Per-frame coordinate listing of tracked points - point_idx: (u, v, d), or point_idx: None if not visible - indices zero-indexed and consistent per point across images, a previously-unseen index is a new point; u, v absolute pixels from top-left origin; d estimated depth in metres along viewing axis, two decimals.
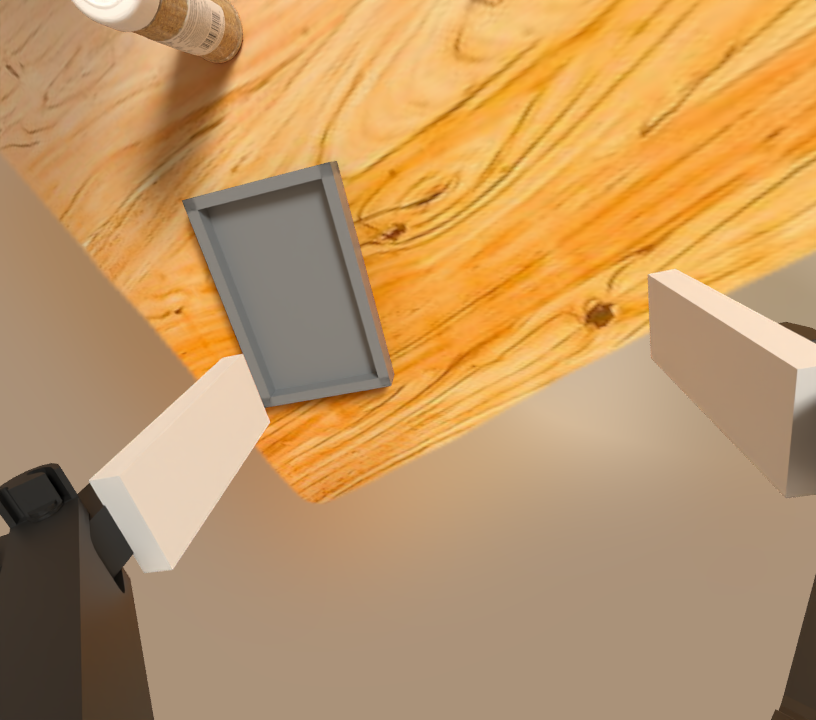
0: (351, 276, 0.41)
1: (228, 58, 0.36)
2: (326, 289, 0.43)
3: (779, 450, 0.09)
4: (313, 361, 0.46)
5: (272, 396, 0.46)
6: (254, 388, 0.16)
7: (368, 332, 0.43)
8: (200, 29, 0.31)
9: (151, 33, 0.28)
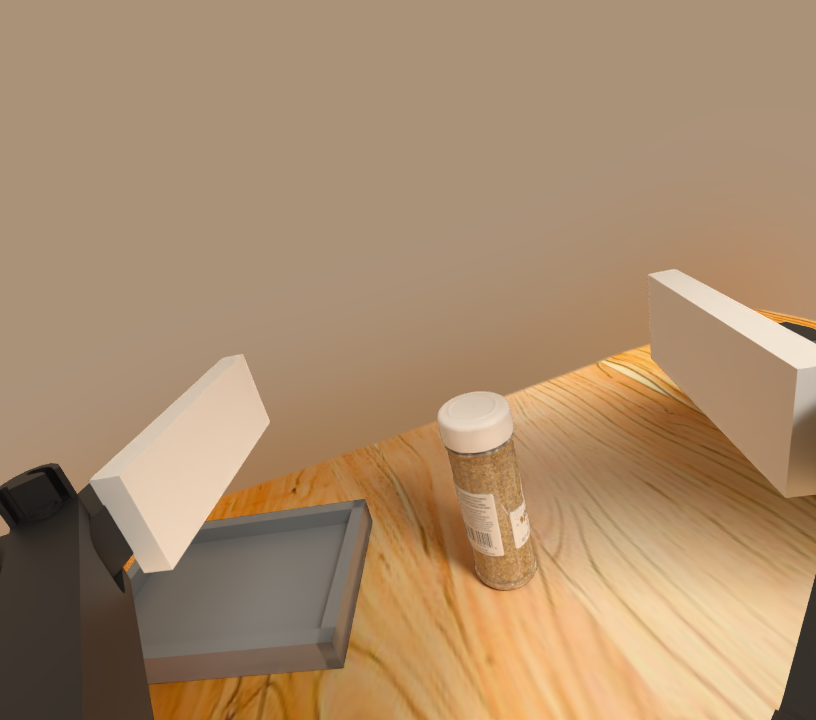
0: (204, 642, 0.31)
1: (475, 568, 0.34)
2: (219, 618, 0.35)
3: (779, 450, 0.09)
4: (164, 588, 0.39)
5: None
6: (254, 388, 0.16)
7: None
8: (468, 514, 0.31)
9: None
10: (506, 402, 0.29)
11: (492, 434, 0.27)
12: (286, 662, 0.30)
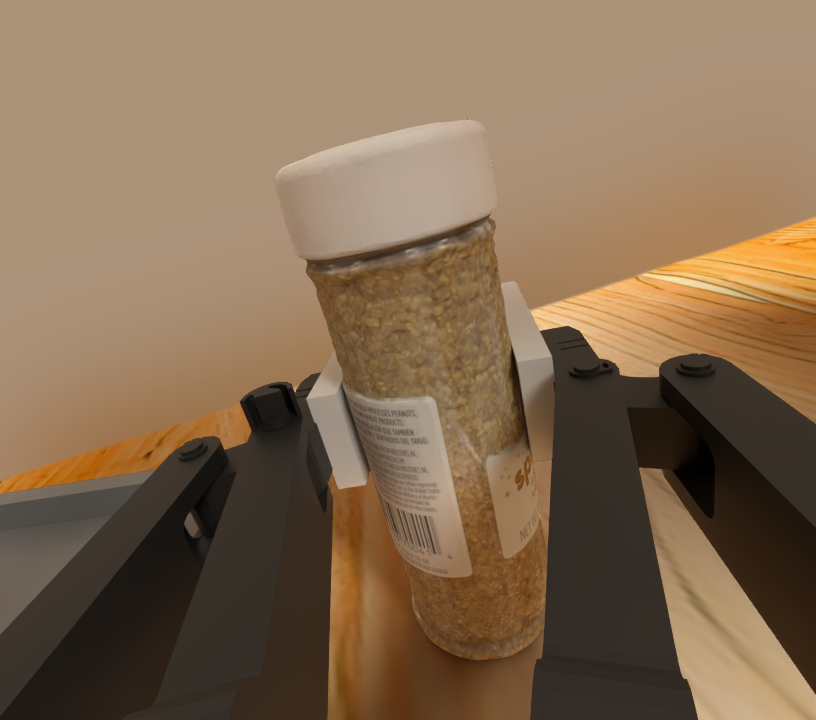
0: None
1: (412, 602, 0.15)
2: None
3: (527, 425, 0.11)
4: None
5: None
6: None
7: None
8: (376, 463, 0.11)
9: None
10: (476, 122, 0.10)
11: (421, 179, 0.08)
12: None
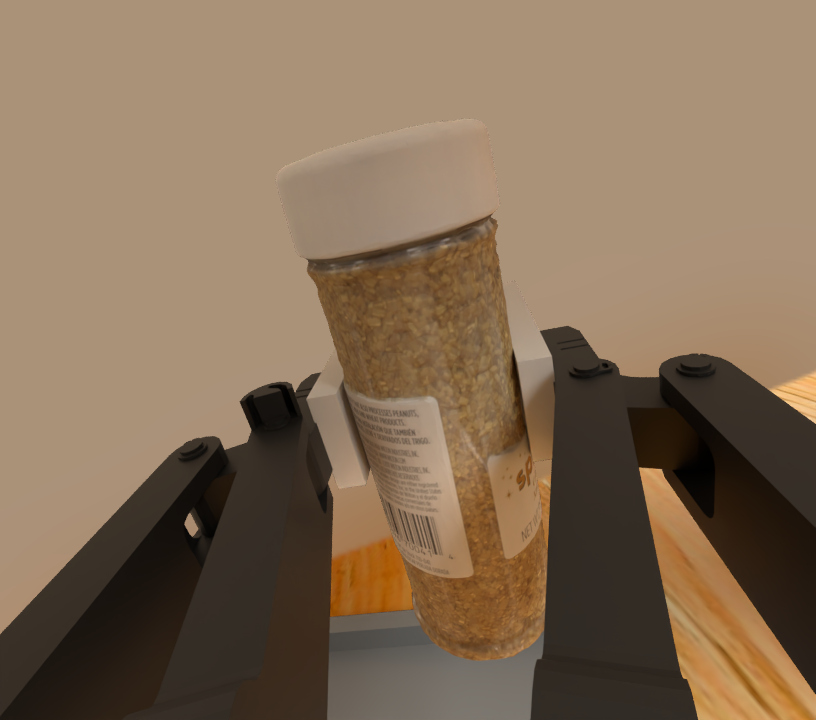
0: None
1: (413, 602, 0.15)
2: None
3: (527, 425, 0.11)
4: None
5: None
6: None
7: None
8: (377, 464, 0.11)
9: None
10: None
11: (424, 179, 0.08)
12: None
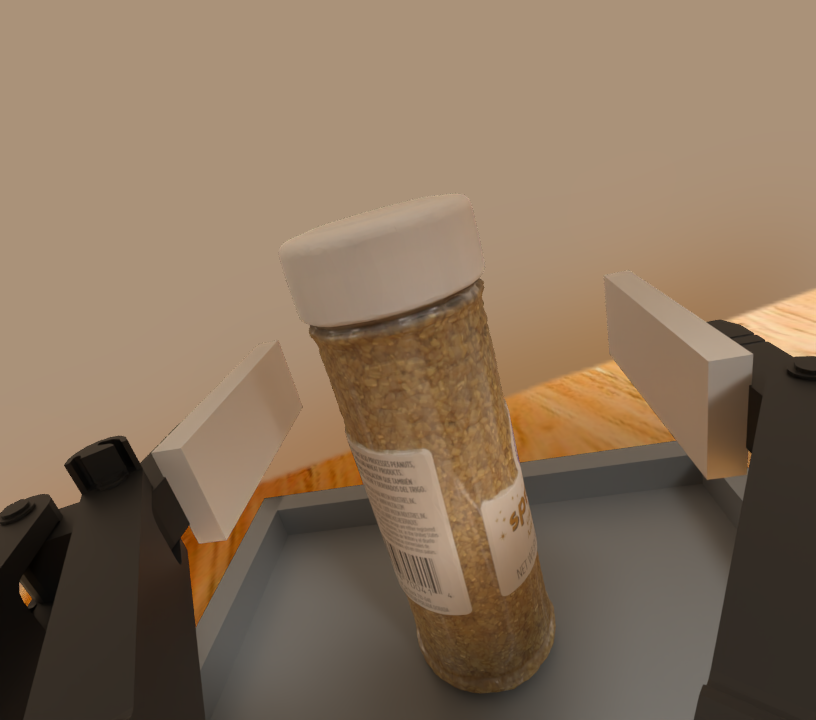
0: None
1: (417, 635, 0.15)
2: (493, 718, 0.13)
3: (700, 436, 0.10)
4: (304, 625, 0.17)
5: (276, 513, 0.21)
6: (288, 373, 0.17)
7: None
8: (378, 508, 0.12)
9: None
10: (462, 195, 0.10)
11: (412, 257, 0.09)
12: None
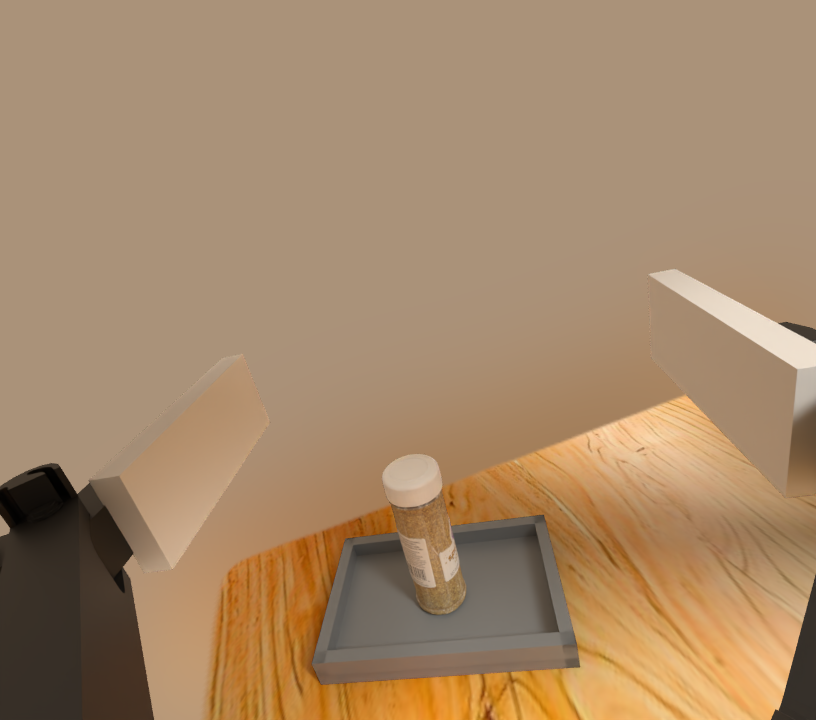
0: (449, 643, 0.36)
1: (416, 596, 0.41)
2: (441, 621, 0.39)
3: (779, 450, 0.09)
4: (371, 594, 0.43)
5: (352, 546, 0.47)
6: (254, 388, 0.16)
7: (382, 649, 0.37)
8: (407, 553, 0.38)
9: None
10: (436, 466, 0.36)
11: (422, 493, 0.35)
12: (528, 661, 0.35)
